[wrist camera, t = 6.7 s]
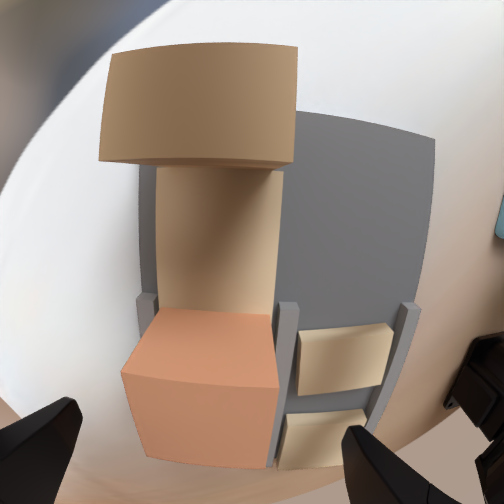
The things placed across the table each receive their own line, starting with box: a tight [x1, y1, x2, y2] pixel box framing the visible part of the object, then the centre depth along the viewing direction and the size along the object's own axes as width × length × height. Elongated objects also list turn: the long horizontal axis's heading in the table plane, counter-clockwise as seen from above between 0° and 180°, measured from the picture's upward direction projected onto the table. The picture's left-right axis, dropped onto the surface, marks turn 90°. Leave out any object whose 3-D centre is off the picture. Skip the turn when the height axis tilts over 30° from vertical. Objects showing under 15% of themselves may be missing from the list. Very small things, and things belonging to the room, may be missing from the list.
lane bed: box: [136, 111, 435, 467], centre depth 13 cm, size 13×20×2 cm, turn 177°
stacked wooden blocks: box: [99, 42, 298, 323], centre depth 9 cm, size 5×13×6 cm, turn 177°
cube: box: [121, 307, 280, 469], centre depth 10 cm, size 4×4×4 cm
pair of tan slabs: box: [276, 323, 394, 470], centre depth 13 cm, size 5×11×1 cm, turn 177°
